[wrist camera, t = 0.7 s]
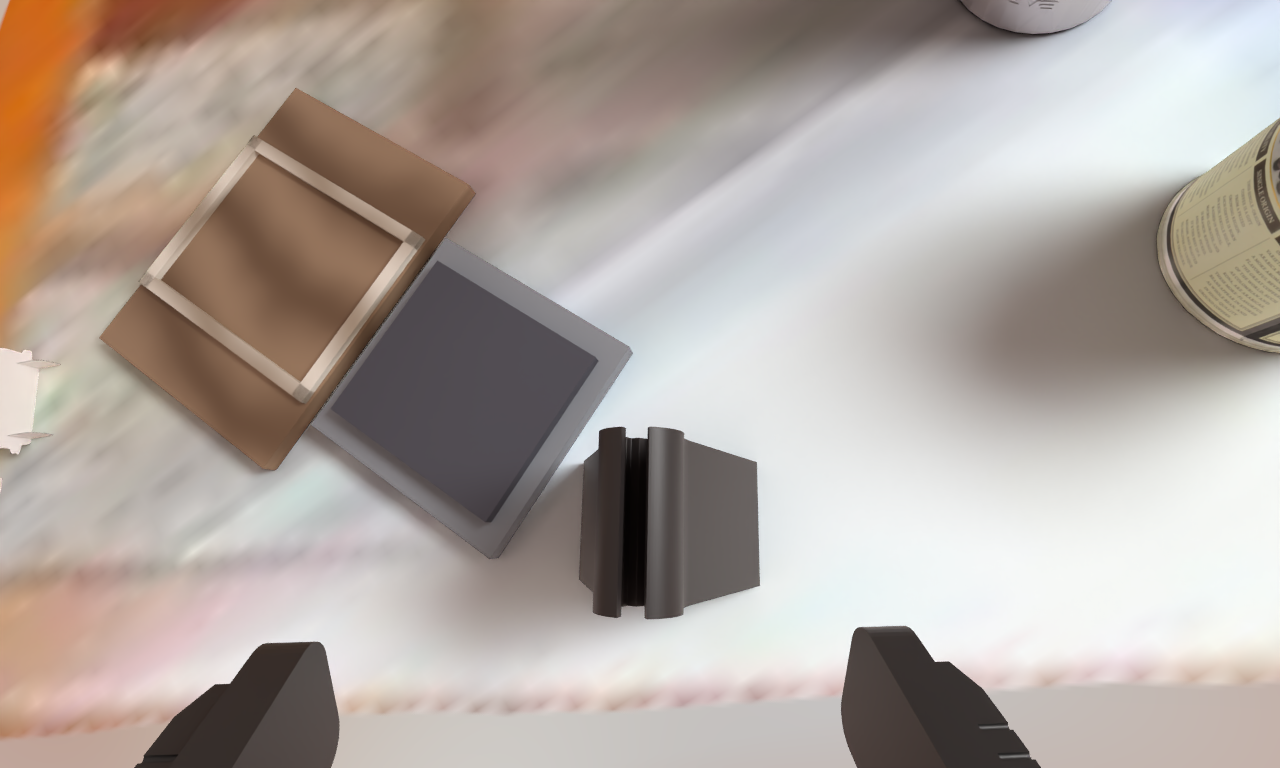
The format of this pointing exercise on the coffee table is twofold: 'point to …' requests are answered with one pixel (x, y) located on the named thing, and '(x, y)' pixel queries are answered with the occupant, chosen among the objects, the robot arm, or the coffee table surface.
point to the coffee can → (1229, 244)
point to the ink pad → (472, 395)
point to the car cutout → (18, 398)
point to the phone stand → (666, 523)
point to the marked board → (285, 274)
